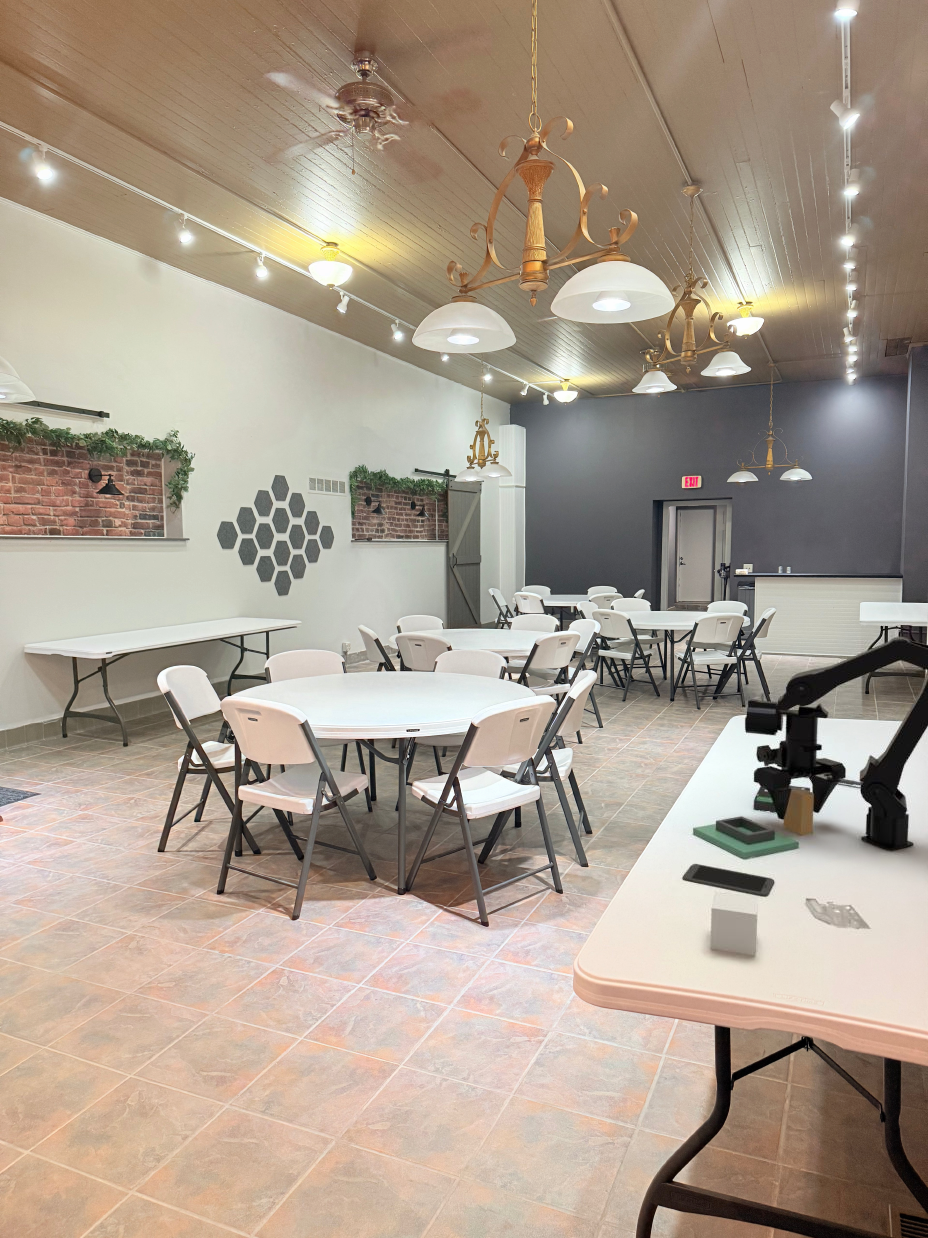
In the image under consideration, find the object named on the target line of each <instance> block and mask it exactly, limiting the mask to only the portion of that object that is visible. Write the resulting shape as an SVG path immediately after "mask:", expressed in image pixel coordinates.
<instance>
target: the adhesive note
mask: <svg viewBox="0 0 928 1238" xmlns="http://www.w3.org/2000/svg"><path fill="white" fill-rule="evenodd" d="M758 897H759V896H755V895H745V894H741V893H739V894H738V893H733V892H732V893H731V892H723V891H717V890H714V892H713V897H712V903H711V913H710V914H711V918H710V949H712V950H718V951H723V952H724V951H725V952H729V953H730V952H731V953H736V954H742V955H748V956H754V957H755V956H756V955H757V954H756V953H757V939H758V938H757V936H758V905H759V903H758V902H759V898H758Z"/></svg>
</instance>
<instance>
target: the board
mask: <svg viewBox="0 0 928 1238" xmlns="http://www.w3.org/2000/svg"><path fill="white" fill-rule="evenodd" d="M692 835H695V836H697V837H699V838H700V839H703V840H705V841H706V842H709V843H711V844H712V845H715V846H717V847H719V848H721V849H723V850H725V851H727V852H728V853H731V854H733V855H735V856H737V857H739V858H742V860H747V859H752V858H755V857H756V858H757V857H760V856H761V857H762V856H766V855H771V854H772V855H773V854H777V853H781V852H785V851H790V850H795V849H799V848H800V847H799V846H800V841H799V840H796V839H793V838H791V837H788V836H786V835H784V834H782V833H779V832H778V831H776V830H775V829H772V828H770V827H769V826H766V825H764V824H761V823H759V822H756V821H754V820H752V819H749V818H747V817H745V816H743V815H740V816H736V817H730V818H724V819H718V820H715V823H714V824H707V825H703V826H702V825H701V826H697V827H693V828H692ZM751 857H752V858H751Z"/></svg>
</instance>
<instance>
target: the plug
mask: <svg viewBox="0 0 928 1238" xmlns="http://www.w3.org/2000/svg"><path fill="white" fill-rule="evenodd" d="M797 787H798V786H797ZM797 787H793V788H791V789H792V790H791V794H790V798H789V802H788V806H787V811H786V814H785V817H784V819H783V824H782V825H783V828H782V829H784V830H787V831H790V832H791V833H793V834H797V835H799V836H805V835H811V834H813V832H814V829H813V828H814V827H813V826H814V811H813V804H814V793H812V792H811V791H810V792H809V791H806V790H803V789H800V788H797Z"/></svg>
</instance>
